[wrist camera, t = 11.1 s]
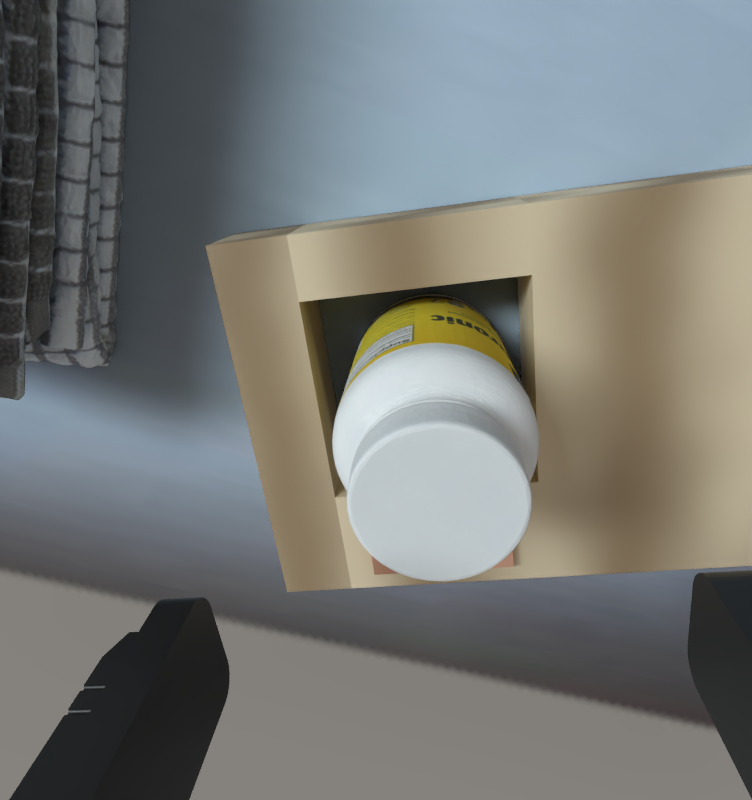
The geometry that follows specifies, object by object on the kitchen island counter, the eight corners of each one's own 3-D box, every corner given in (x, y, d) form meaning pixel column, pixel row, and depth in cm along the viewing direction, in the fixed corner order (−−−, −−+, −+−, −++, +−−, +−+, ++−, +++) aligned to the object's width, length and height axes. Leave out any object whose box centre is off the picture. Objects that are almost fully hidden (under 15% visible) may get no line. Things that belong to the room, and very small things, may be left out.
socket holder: (1086, 120, 17) (1230, 112, 14) (973, 499, 22) (1062, 554, 19) (234, 233, 20) (201, 247, 17) (302, 543, 25) (285, 597, 22)
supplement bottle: (534, 372, 21) (618, 530, 12) (418, 453, 23) (417, 646, 14) (443, 256, 20) (462, 339, 11) (326, 352, 21) (259, 492, 12)
